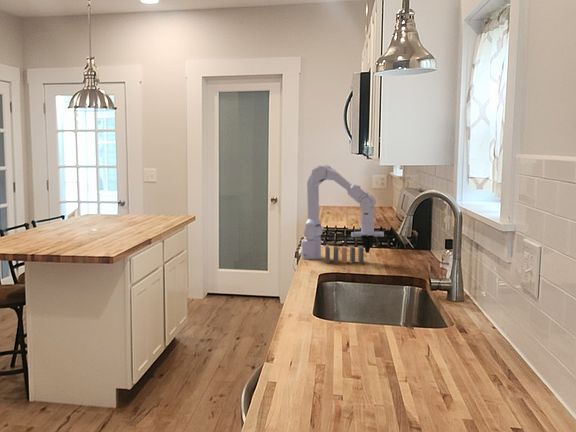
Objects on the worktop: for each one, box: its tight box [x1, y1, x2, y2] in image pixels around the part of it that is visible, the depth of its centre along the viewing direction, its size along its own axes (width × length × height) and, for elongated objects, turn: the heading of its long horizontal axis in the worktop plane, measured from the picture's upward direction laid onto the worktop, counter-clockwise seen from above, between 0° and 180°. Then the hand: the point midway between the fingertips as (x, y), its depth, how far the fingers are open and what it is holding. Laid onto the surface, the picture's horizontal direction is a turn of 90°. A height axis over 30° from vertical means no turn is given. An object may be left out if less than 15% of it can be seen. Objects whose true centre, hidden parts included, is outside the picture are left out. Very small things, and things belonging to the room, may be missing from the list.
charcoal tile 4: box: [333, 245, 339, 265], centre depth 225 cm, size 2×5×7 cm, turn 2°
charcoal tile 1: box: [357, 245, 365, 264], centre depth 225 cm, size 2×5×7 cm, turn 2°
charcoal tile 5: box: [324, 245, 331, 265], centre depth 225 cm, size 2×5×7 cm, turn 2°
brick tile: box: [341, 245, 348, 264], centre depth 225 cm, size 2×5×7 cm, turn 2°
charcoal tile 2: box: [349, 245, 356, 264], centre depth 225 cm, size 2×5×7 cm, turn 2°
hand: (367, 252), depth 225 cm, fingers closed
